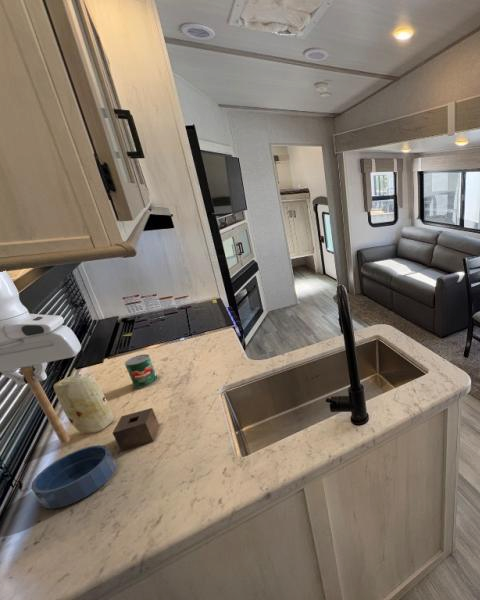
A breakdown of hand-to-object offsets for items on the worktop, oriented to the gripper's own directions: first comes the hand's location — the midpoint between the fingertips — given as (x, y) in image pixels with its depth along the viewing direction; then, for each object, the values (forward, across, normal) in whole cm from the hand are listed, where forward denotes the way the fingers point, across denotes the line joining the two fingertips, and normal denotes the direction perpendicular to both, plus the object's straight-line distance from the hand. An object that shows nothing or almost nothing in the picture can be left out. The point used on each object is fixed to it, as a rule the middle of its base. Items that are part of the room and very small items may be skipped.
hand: (33, 381), depth 73 cm
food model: (+32, -6, +25) cm, 41 cm away
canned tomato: (+32, +2, +50) cm, 59 cm away
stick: (+18, 0, 0) cm, 18 cm away
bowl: (+31, -1, -1) cm, 31 cm away
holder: (+31, +9, +12) cm, 35 cm away
